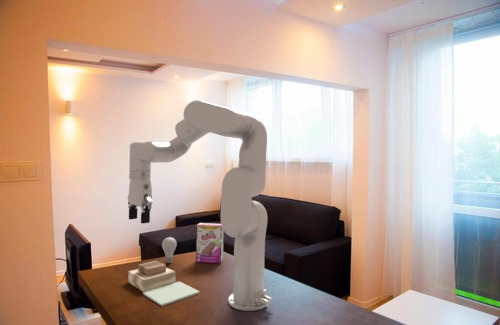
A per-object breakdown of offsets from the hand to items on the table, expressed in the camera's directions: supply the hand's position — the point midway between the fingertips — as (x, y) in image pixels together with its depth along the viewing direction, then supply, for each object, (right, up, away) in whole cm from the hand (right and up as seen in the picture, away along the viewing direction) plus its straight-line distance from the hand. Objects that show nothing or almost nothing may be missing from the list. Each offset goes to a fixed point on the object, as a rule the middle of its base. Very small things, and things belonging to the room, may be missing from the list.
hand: (138, 220), depth 121 cm
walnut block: (+7, -16, -5) cm, 18 cm away
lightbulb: (+7, -21, +17) cm, 28 cm away
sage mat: (+16, -21, -15) cm, 30 cm away
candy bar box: (+24, -22, +19) cm, 38 cm away
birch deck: (+6, -21, -5) cm, 23 cm away
